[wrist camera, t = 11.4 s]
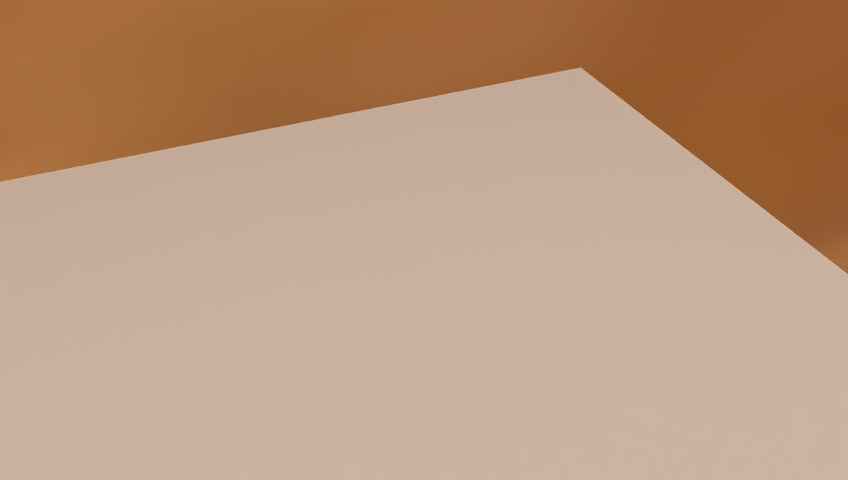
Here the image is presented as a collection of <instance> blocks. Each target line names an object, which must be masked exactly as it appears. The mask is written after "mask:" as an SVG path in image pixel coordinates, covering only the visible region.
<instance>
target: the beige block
mask: <svg viewBox="0 0 848 480" xmlns="http://www.w3.org/2000/svg"><path fill="white" fill-rule="evenodd" d="M0 480H848V274H847V273H845V272H844V271H843V270H842V269H840V268H839V267H838V266H836V265H835V264H834V263H833V262H831V261H830V260H829V259H827V258H826V257H825V256H823V255H822V254H821V253H820V252H818V251H817V250H816V249H814V248H813V247H812V246H811V245H809V244H808V243H807V242H805V241H804V240H803V239H802V238H800V237H799V236H798V235H796V234H795V233H794V232H792V231H791V230H790V229H789V228H787V227H786V226H785V225H783V224H782V223H781V222H780V221H778V220H777V219H776V218H774V217H773V216H772V215H770V214H769V213H768V212H767V211H765V210H764V209H763V208H761V207H760V206H759V205H758V204H756V203H755V202H754V201H752V200H751V199H750V198H749V197H747V196H746V195H745V194H743V193H742V192H741V191H739V190H738V189H737V188H736V187H734V186H733V185H732V184H730V183H729V182H728V181H727V180H725V179H724V178H723V177H721V176H720V175H719V174H717V173H716V172H715V171H714V170H712V169H711V168H710V167H708V166H707V165H706V164H705V163H703V162H702V161H701V160H699V159H698V158H697V157H696V156H694V155H693V154H692V153H690V152H689V151H688V150H686V149H685V148H684V147H683V146H681V145H680V144H679V143H677V142H676V141H675V140H674V139H672V138H671V137H670V136H668V135H667V134H666V133H664V132H663V131H662V130H661V129H659V128H658V127H657V126H655V125H654V124H653V123H652V122H650V121H649V120H648V119H646V118H645V117H644V116H643V115H641V114H640V113H639V112H637V111H636V110H635V109H633V108H632V107H631V106H630V105H628V104H627V103H626V102H624V101H623V100H622V99H621V98H619V97H618V96H617V95H615V94H614V93H613V92H611V91H610V90H609V89H608V88H606V87H605V86H604V85H602V84H601V83H600V82H599V81H597V80H596V79H595V78H593V77H592V76H591V75H590V74H588V73H587V72H586V71H584V70H583V69H582V68H576V69H571V70H566V71H561V72H556V73H551V74H546V75H541V76H536V77H531V78H525V79H520V80H515V81H510V82H505V83H500V84H495V85H490V86H485V87H480V88H475V89H470V90H464V91H459V92H454V93H449V94H444V95H439V96H434V97H429V98H424V99H419V100H414V101H409V102H404V103H398V104H393V105H388V106H383V107H378V108H373V109H368V110H363V111H358V112H353V113H348V114H343V115H338V116H332V117H327V118H322V119H317V120H312V121H307V122H302V123H297V124H292V125H287V126H282V127H277V128H272V129H266V130H261V131H256V132H251V133H246V134H241V135H236V136H231V137H226V138H221V139H216V140H211V141H206V142H200V143H195V144H190V145H185V146H180V147H175V148H170V149H165V150H160V151H155V152H150V153H145V154H139V155H134V156H129V157H124V158H119V159H114V160H109V161H104V162H99V163H94V164H89V165H84V166H79V167H73V168H68V169H63V170H58V171H53V172H48V173H43V174H38V175H33V176H28V177H23V178H18V179H13V180H7V181H2V182H0Z"/></svg>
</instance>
